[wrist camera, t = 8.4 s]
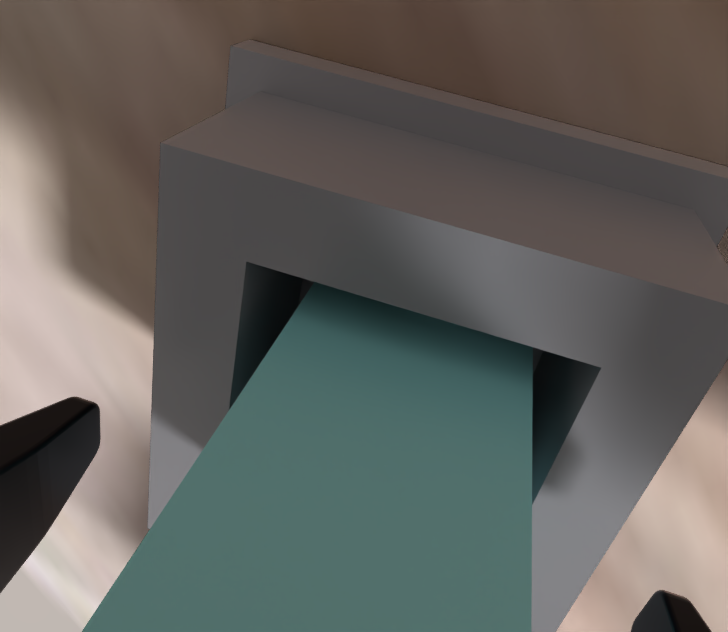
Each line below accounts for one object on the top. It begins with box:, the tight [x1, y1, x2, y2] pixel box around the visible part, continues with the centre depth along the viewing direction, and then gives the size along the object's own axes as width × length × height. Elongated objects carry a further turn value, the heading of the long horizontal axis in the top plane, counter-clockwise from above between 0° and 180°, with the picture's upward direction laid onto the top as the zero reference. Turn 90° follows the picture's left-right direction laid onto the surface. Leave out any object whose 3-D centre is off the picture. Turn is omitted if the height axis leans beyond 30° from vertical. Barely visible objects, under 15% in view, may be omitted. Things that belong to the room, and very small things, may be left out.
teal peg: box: [82, 282, 533, 632], centre depth 10 cm, size 4×4×10 cm
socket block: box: [148, 40, 728, 632], centre depth 13 cm, size 10×10×5 cm
